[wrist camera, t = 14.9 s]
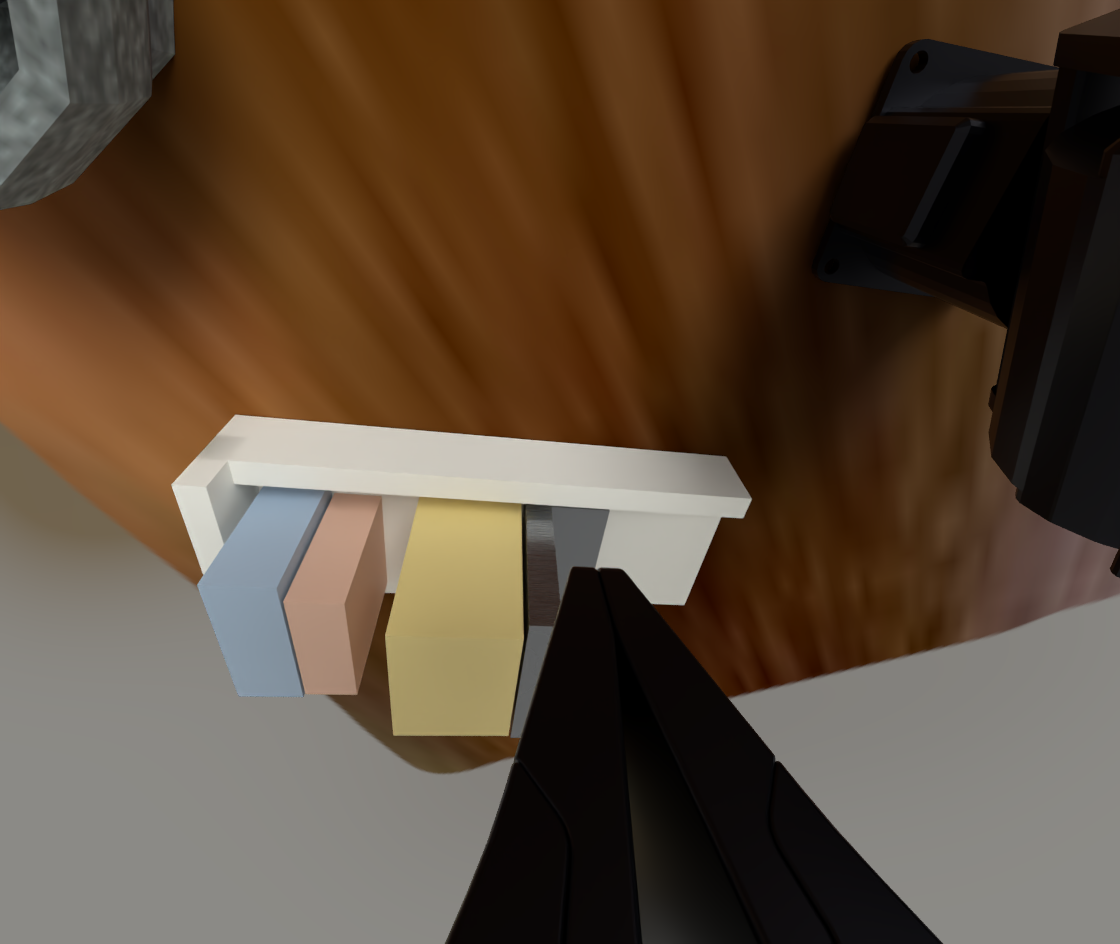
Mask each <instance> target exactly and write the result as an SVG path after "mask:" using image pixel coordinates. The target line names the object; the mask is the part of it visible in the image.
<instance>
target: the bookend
mask: <svg viewBox="0 0 1120 944" xmlns="http://www.w3.org/2000/svg"><path fill="white" fill-rule="evenodd" d="M609 512H610V510H609V509H596V508H582V507H567V506H552V505H537V504H524V510H523V517H522V571H523V632H524V640H523V647H522V653H521V659H520V665H519V672H518V678H517V684H516V690H515V697H514V703H513V709H512V715H511V738H520V737H521V734H522V730H523V727H524V723H525V720H526V717H527V713H528V710H529V707H530V703H531V700H532V697H533V693H534V690H535V686H536V683H537V680H538V676H539V673H540V670H541V666H542V663H543V659H544V656H545V653H546V649H547V646H548V643H549V639H550V636H551V632H552V629H553V626H554V622H555V619H556V616H557V612H558V609H559V605H560V601H561V599H562V595H563V592H564V589H565V585H566V582H567V579H568V575H569V572H570V569H571V568H572V567H573V566H585V567H594V568H595V567H596V563H597V559H598V555H599V551H600V547H601V543H602V539H603V535H604V531H605V528H606V524H607V520H608V516H609Z"/></svg>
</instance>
